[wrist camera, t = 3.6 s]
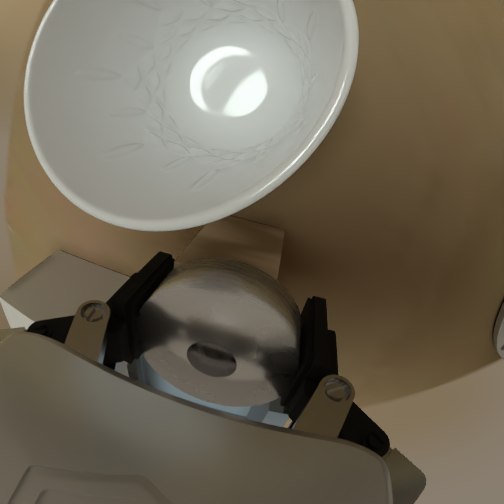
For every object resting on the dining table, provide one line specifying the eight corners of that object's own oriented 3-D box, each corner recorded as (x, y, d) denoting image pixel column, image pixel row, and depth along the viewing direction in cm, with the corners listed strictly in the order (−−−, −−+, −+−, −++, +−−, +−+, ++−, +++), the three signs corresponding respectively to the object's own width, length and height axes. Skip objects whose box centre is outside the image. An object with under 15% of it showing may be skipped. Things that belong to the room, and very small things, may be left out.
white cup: (338, 139, 13) (413, 173, 4) (199, 180, 15) (78, 266, 6) (289, 8, 10) (265, -117, 1) (155, 60, 12) (12, 31, 3)
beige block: (284, 230, 16) (275, 290, 10) (267, 287, 17) (252, 358, 12) (216, 212, 16) (174, 261, 10) (206, 270, 18) (170, 333, 12)
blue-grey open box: (297, 331, 18) (291, 415, 12) (258, 411, 24) (246, 471, 18) (144, 287, 19) (94, 350, 13) (149, 378, 24) (122, 430, 18)
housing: (169, 290, 19) (116, 367, 12) (167, 383, 24) (139, 443, 18) (58, 249, 19) (-2, 296, 13) (79, 344, 25) (43, 390, 18)
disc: (325, 284, 9) (327, 323, 7) (277, 385, 12) (271, 420, 10) (160, 237, 10) (130, 264, 8) (158, 347, 12) (140, 377, 11)
